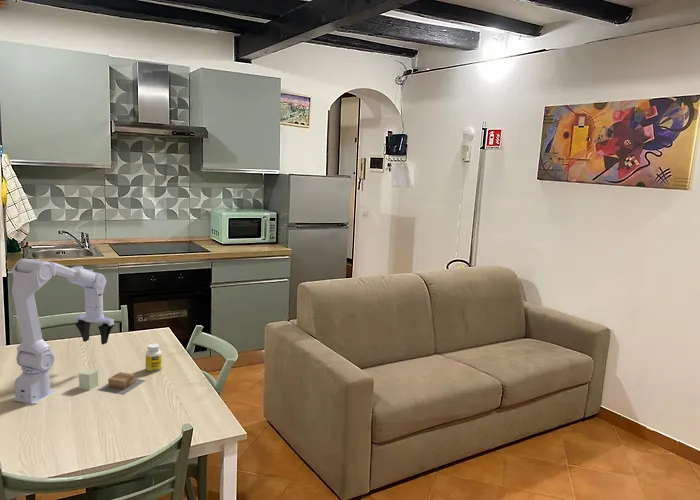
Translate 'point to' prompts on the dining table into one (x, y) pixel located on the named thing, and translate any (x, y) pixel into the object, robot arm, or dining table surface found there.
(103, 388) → the mat
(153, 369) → the supplement bottle
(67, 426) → the dining table surface
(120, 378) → the walnut block
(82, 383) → the sage pillar
